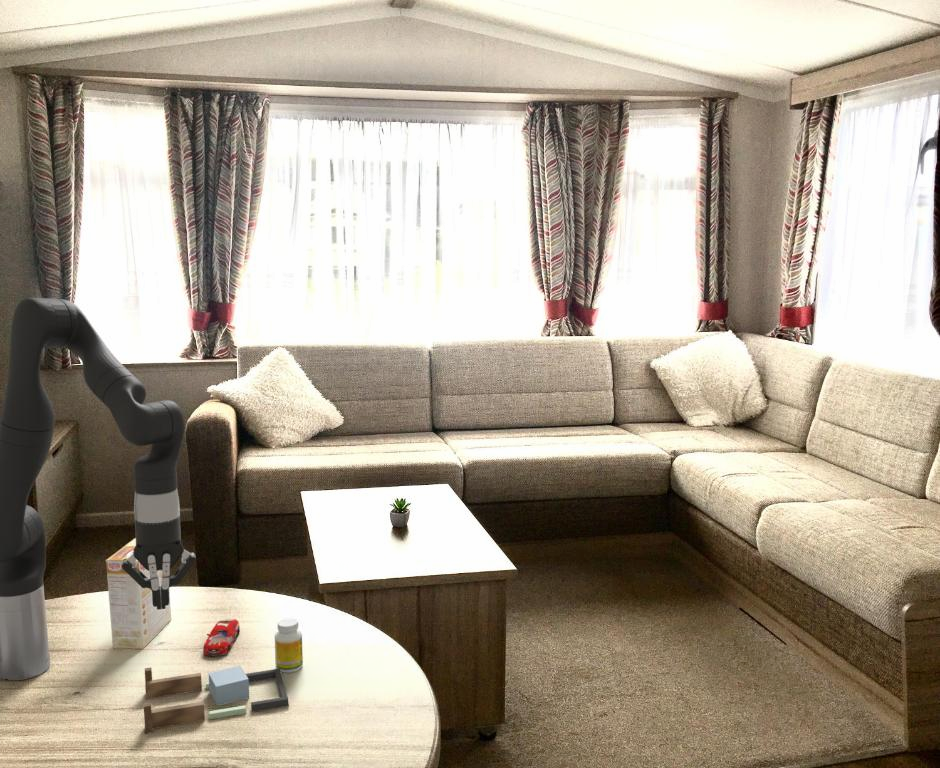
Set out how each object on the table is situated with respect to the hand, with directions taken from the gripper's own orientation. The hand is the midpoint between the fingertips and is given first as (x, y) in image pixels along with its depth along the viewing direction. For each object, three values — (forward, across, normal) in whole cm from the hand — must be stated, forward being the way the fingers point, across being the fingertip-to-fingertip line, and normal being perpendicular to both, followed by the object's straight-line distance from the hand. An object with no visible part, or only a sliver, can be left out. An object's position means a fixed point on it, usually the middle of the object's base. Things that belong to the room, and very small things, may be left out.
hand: (161, 607), depth 162 cm
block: (+20, +11, +2) cm, 23 cm away
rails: (+20, +10, 0) cm, 22 cm away
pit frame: (+19, +18, 0) cm, 26 cm away
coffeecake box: (+20, -5, +35) cm, 41 cm away
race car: (+20, +11, +25) cm, 34 cm away
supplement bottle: (+20, +24, +9) cm, 32 cm away
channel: (+20, +2, 0) cm, 20 cm away
